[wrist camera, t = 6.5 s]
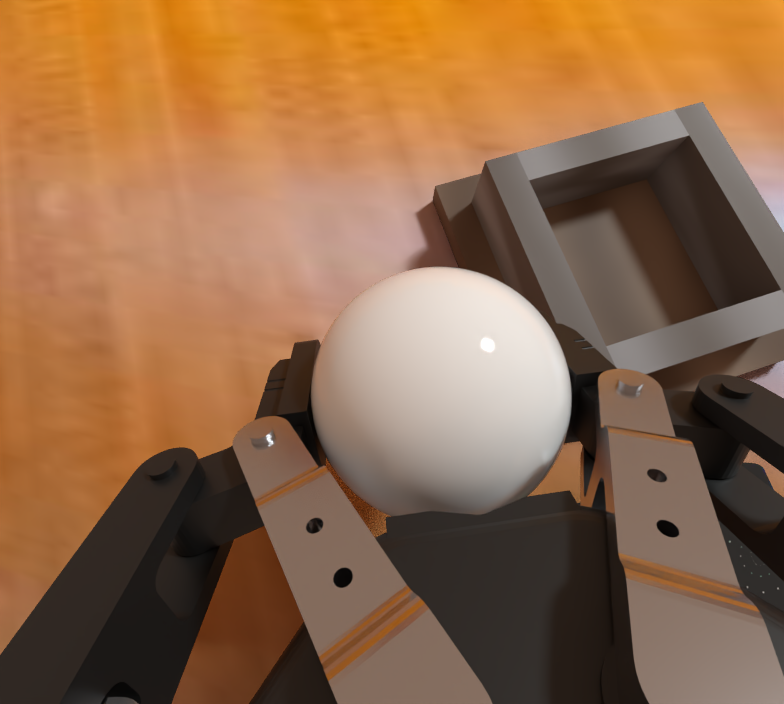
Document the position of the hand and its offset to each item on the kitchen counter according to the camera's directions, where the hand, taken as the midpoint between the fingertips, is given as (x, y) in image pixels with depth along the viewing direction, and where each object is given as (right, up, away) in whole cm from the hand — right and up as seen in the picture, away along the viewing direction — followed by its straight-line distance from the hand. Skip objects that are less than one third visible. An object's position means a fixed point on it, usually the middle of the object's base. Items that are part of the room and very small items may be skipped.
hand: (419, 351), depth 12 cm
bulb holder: (+10, +4, +8) cm, 14 cm away
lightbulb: (0, -3, +5) cm, 6 cm away
